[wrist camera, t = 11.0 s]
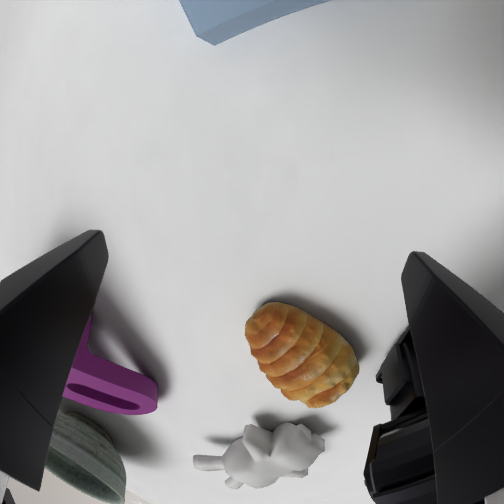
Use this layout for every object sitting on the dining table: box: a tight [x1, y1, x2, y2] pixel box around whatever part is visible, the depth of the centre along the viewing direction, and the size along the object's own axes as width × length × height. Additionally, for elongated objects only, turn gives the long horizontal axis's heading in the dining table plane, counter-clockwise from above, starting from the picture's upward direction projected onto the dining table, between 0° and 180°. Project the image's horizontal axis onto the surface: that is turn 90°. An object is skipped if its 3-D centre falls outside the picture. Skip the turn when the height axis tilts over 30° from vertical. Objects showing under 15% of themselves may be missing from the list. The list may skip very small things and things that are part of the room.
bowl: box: [44, 412, 126, 504], centre depth 37 cm, size 21×21×10 cm
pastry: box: [245, 302, 359, 408], centre depth 23 cm, size 9×7×4 cm
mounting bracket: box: [63, 315, 158, 415], centre depth 29 cm, size 9×8×18 cm
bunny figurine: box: [193, 422, 325, 489], centre depth 30 cm, size 10×5×15 cm
